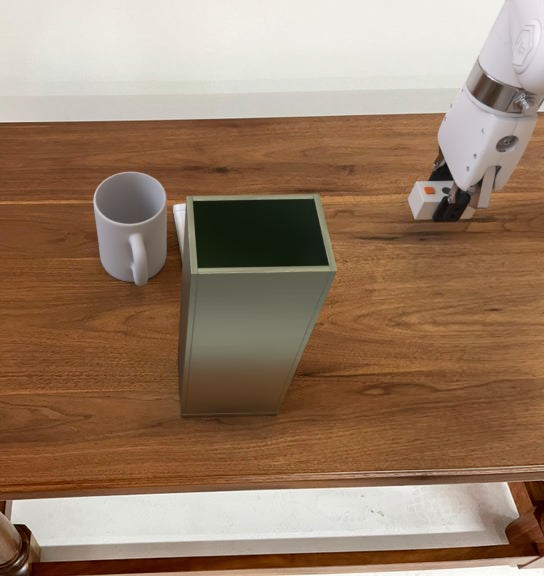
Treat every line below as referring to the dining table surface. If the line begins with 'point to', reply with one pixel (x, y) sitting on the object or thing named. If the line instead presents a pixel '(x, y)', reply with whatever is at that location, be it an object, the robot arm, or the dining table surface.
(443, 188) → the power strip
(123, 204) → the mug
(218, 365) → the box
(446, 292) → the dining table surface
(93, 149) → the dining table surface
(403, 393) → the dining table surface
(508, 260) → the dining table surface
